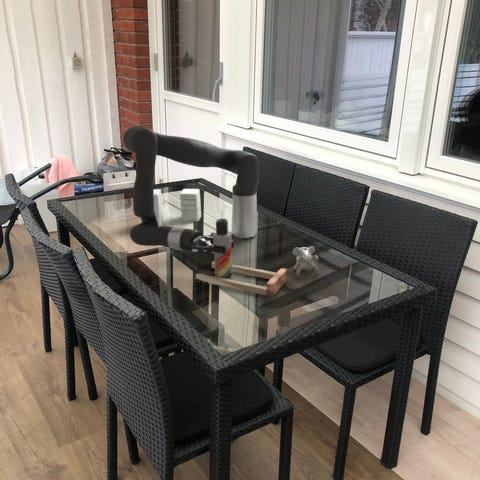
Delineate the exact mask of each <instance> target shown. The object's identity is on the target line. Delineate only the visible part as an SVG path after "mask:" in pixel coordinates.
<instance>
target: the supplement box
mask: <svg viewBox="0 0 480 480" xmlns="http://www.w3.org/2000/svg"><path fill="white" fill-rule="evenodd" d="M179 201H180V213H181V214H180V216H181V222H191V223H193V222H197V223H198V222H199V221H200V219H201V217H202V210H201V209H202V208H201V207H202V205H201V192H200V188H183V189H182V190H181V191H180V193H179Z"/></svg>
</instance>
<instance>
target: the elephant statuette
mask: <svg viewBox="0 0 480 480" xmlns="http://www.w3.org/2000/svg"><path fill="white" fill-rule="evenodd" d="M314 253H315V247H314V246H309V247H306V246H305V247H303V246H301V247H294V248H293V249H292V254H293V255H294V256H296V258H295V261H296V262H295V265H294V266H293V269H294V270H296V271H295V274H296V276H301V273H302V271H304V270H306V272H309V271H310V270H313V272H314V274H315V275H318V274H319V273H320V269H319V267H318V266H317V265H316V263H315V262H316V261H319V256H318V255H313V254H314Z"/></svg>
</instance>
